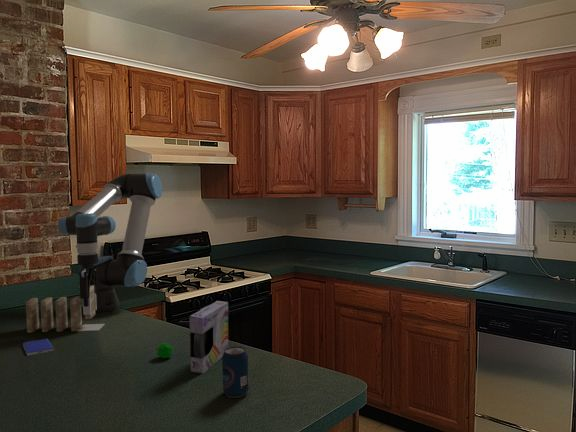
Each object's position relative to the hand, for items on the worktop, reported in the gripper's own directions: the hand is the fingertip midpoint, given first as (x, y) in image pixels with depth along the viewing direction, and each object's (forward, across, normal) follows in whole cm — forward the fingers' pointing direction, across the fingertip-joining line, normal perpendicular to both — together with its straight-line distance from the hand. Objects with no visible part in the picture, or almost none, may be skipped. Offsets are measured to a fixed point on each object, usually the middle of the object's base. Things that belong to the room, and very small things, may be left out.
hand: (90, 312), depth 196 cm
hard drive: (+7, +21, -11) cm, 25 cm away
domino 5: (+2, 0, 0) cm, 2 cm away
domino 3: (+6, 0, -11) cm, 13 cm away
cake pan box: (+7, +42, +50) cm, 66 cm away
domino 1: (+6, 0, -22) cm, 23 cm away
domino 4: (+6, 0, -5) cm, 8 cm away
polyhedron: (+7, +36, +35) cm, 51 cm away
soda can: (+7, +65, +59) cm, 88 cm away
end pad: (+6, 0, 0) cm, 6 cm away
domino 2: (+6, 0, -16) cm, 18 cm away
